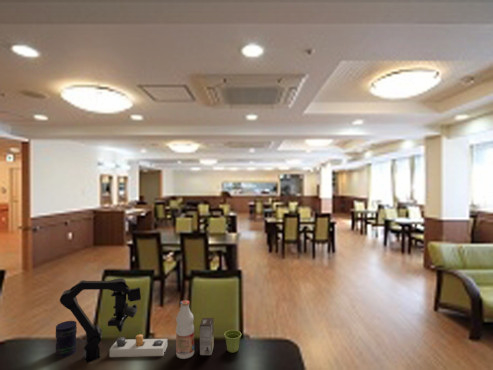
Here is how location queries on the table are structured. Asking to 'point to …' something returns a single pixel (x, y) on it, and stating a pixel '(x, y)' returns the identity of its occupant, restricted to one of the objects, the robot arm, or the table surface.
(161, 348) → the console
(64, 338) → the storage jar
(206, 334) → the coffee box
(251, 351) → the table surface
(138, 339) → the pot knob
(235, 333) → the plant pot
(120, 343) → the knob
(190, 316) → the fruit juice
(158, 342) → the knob
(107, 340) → the table surface
